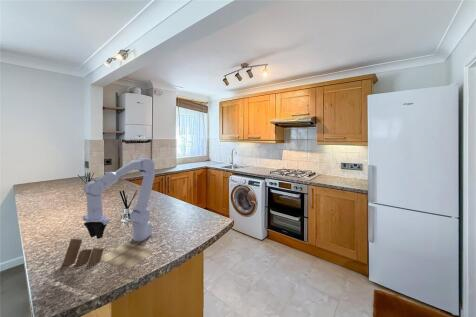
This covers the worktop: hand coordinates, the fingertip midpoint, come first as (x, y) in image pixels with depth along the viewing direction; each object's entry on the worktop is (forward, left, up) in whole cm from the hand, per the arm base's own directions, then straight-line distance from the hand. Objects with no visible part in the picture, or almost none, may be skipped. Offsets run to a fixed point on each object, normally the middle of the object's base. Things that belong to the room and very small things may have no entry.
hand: (96, 237), depth 97 cm
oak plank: (-5, +6, -9) cm, 12 cm away
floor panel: (-5, +16, -9) cm, 20 cm away
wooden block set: (+6, -3, -10) cm, 12 cm away
